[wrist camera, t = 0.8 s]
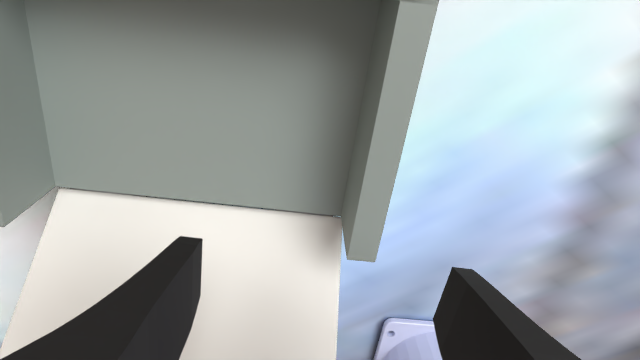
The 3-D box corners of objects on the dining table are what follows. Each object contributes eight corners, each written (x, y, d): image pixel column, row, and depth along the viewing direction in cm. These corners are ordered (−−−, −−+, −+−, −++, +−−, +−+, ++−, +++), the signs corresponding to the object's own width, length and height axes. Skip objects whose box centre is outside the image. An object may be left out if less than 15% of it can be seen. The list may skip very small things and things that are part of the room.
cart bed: (360, 203, 21) (374, 261, 17) (47, 170, 20) (-29, 223, 15) (409, -31, 16) (448, -37, 12) (0, -97, 15) (-130, -131, 11)
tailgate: (331, 390, 18) (334, 392, 17) (7, 368, 17) (-8, 369, 16) (339, 214, 22) (342, 208, 21) (71, 186, 20) (62, 178, 20)
